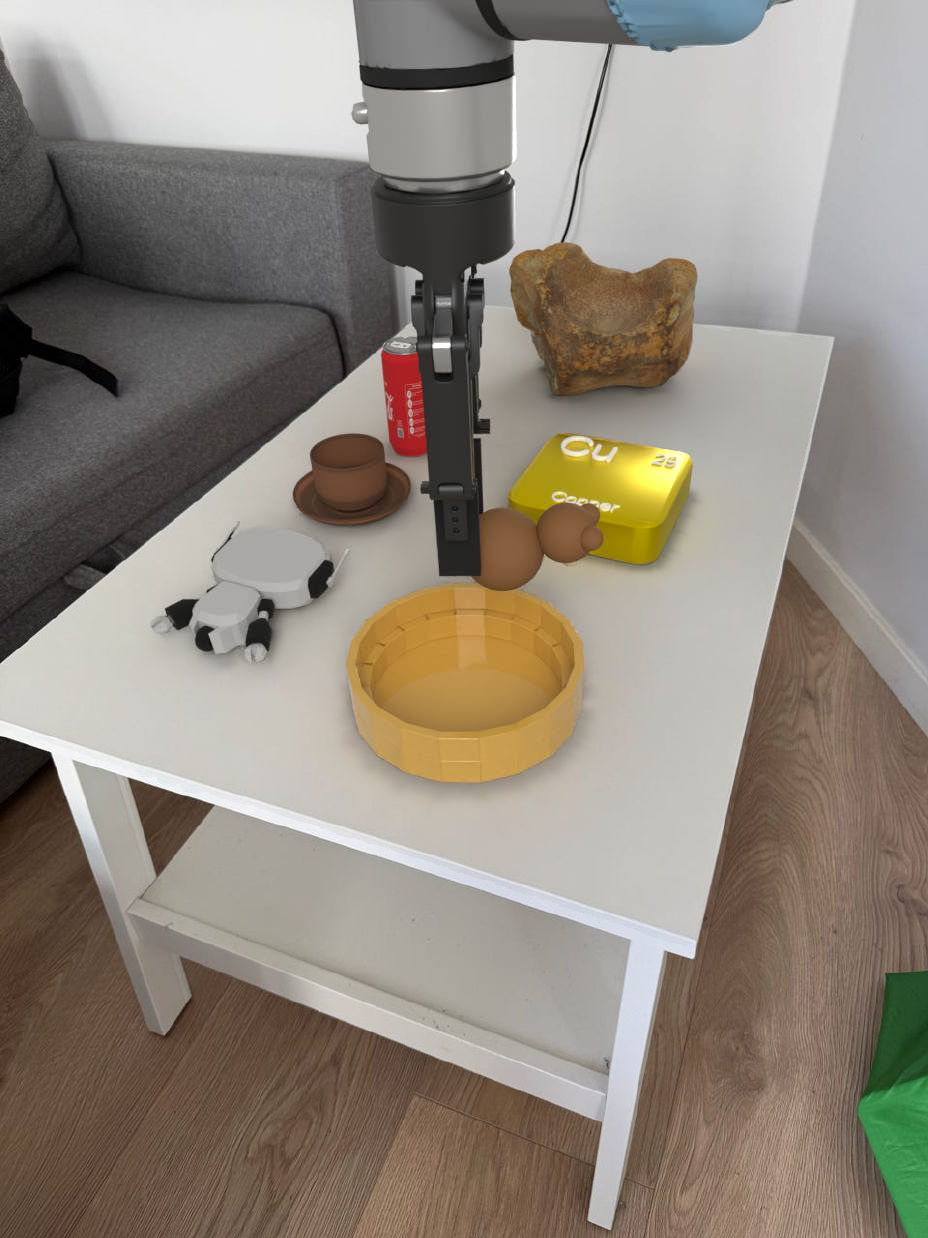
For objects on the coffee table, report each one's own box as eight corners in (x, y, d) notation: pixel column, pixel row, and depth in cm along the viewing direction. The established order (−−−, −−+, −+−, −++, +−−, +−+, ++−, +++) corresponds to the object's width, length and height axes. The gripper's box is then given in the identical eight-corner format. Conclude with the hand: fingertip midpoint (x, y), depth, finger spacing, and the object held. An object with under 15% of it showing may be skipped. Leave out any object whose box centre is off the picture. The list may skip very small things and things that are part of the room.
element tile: (501, 537, 88) (501, 494, 85) (554, 464, 99) (555, 424, 96) (654, 570, 83) (659, 526, 80) (692, 490, 94) (698, 448, 91)
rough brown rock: (484, 405, 112) (482, 287, 102) (515, 342, 124) (516, 230, 113) (675, 429, 107) (694, 307, 97) (689, 361, 119) (708, 245, 108)
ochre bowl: (575, 630, 77) (577, 582, 74) (586, 790, 63) (590, 740, 60) (370, 629, 78) (364, 582, 75) (338, 787, 64) (329, 737, 61)
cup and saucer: (289, 484, 98) (280, 432, 94) (399, 467, 100) (395, 415, 96) (302, 545, 88) (292, 490, 85) (423, 524, 90) (419, 469, 87)
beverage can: (422, 462, 100) (415, 357, 93) (381, 453, 102) (371, 350, 95) (443, 441, 104) (438, 338, 96) (403, 433, 106) (395, 332, 98)
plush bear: (477, 567, 66) (607, 533, 64) (475, 616, 62) (615, 581, 59) (451, 504, 63) (588, 466, 60) (447, 550, 58) (594, 511, 56)
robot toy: (270, 690, 74) (360, 577, 83) (257, 650, 71) (353, 538, 80) (150, 652, 78) (249, 549, 88) (133, 613, 75) (238, 510, 85)
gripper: (389, 138, 54) (418, 481, 69) (343, 225, 40) (392, 633, 55) (515, 133, 54) (518, 479, 68) (514, 219, 40) (517, 633, 54)
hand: (462, 547), depth 62 cm, fingers closed on plush bear, 5 cm apart
